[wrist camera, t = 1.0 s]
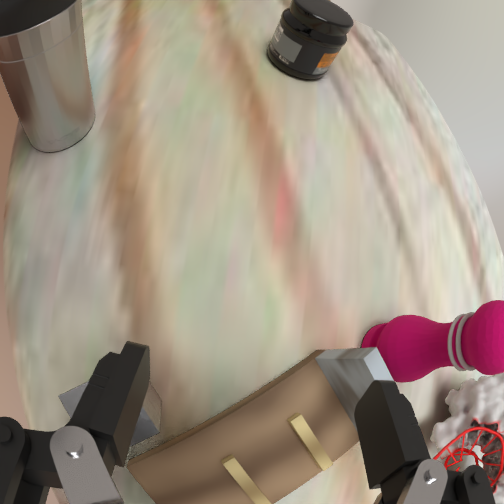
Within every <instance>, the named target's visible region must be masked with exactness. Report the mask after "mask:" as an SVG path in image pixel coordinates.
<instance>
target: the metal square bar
mask: <svg viewBox="0 0 504 504" xmlns="http://www.w3.org/2000/svg"><path fill="white" fill-rule="evenodd" d="M88 382H89V381H88ZM88 382H86V383H84V384H82V385H80V386H78V387H76V388H74V389H72V390H69V391H67V392H65V393H63V394H61V395H59V398H60V400H61V402H62V404H63V406H64V407H65V409H66V411H67V413H68V414H69V416H70V418H71V417H72V415H73V413H74V411H75V409H76V407H77V405H78V402H79V400H80V398H81V396H82V394H83V392H84V390H85V388H86V386H87V385H88ZM161 404H162V400H161V399H160V397H159V396H158V394H157V392H156V391H155V389H154V387H153V386H152V384H151V382H150V381H149V386H148V390H147V393H146V396H145V399H144V402H143V405H142V408H141V411H140V415H139V418H138V421H137V424H136V427H135V430H134V434H133V437H132V440H131V444H130V446H133V445H135V444H137V443H139V442H141V441H143V440H145V439H147V438H149V437H151V436H153V435H156V434H158V433H160V418H161Z"/></svg>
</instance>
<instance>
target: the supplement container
mask: <svg viewBox="0 0 504 504" xmlns="http://www.w3.org/2000/svg"><path fill="white" fill-rule="evenodd" d="M352 26H353V20H352V18H351V17H350V15H349V14H348V13H347V12H345V11H344V10H343V9H342V8H340V7H339V6H337V5H336V4H334V3H332V2H330V1H328V0H292V1H291V3H290V6H289V8H287V9H285V10H284V11H283V13H282V15H281V19H280V21H279V24H278V26H277V28H276V31H275V33H274V35H273V38H272V40H271V42H270V43H269V46H268V55H269V58H270V59H271V61H272V62H273V63H274V64H275V65H276V66H277V67H278V68H280V69H281V70H282V71H284V72H286V73H288V74H290V75H292V76H295V77H298V78H302V79H318V78H320V77H322V76H324V75H325V74H326V72H327V70H328V68H329V66H330V65H331V63H332V62H333V60H334V59H335V57H336V55H337V54H338V52H339V51H340V49H341V48H342V46H344V45H345V43H346V41H347V35H346V34H347V33H348V32H349V31H350V29H351V27H352Z"/></svg>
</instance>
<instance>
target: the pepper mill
mask: <svg viewBox="0 0 504 504" xmlns="http://www.w3.org/2000/svg"><path fill="white" fill-rule="evenodd" d="M370 347H377V349H378V351H379V353H380V355H381V357H382V358H383V360H384V362H385V364H386V366H387V368H388V370H389V372H390V374H391V376H392V378H393V380H394V381H396V382H412V381H415V380H418V379H420V378H422V377H424V376H426V375H427V374H429V373H430V372H432V371H433V370H435V369H437V368H440V367H446V366H454V367H455V368H456V369H457V370H459V371H466V370H469V371H472V370H475V369H477V370H478V371H479V372H481V373H482V374H485V375H496V374H500V373H503V372H504V301H502V300H496V301H491V302H488V303H486V304H483V305H482V306H481V307H480V308H479V309H478V310H477V311H476V312H475V313H474V312H470V313H467V314H461V315H459V316H457V317H456V318H455V320H454V321H453V322H451V323H437V322H435V321H432V320H429V319H427V318H424V317H421V316H416V315H403V316H398V317H396V318H394V319H393V320H391V321H390V322H389V323H384V324H379V325H376V326H374V327H372V328H371V329H370V330H369V331H368V332H367V334H366V335H365V337H364V339H363V343H362V347H361V348H370Z"/></svg>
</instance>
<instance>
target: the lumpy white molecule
mask: <svg viewBox="0 0 504 504" xmlns="http://www.w3.org/2000/svg"><path fill="white" fill-rule="evenodd" d="M445 403H446V404H447V405H449V412H450V413H451V416H452V417H449V418H448V419H446V420H445V421H444V422H438V423H436V424H435V425H434V428H433V431H432V435H431V437H430V440H431V441H432V442H435V443H436V446H437V447H438V448H437V449H438V454H437V455H436V456H435V457H434V458H433V459H435V460H436V459H437V458H438V457H439V456H440V457H441V459H444V458H445V457H447V456H448V457H447V459H446V461H445V463H444V467H445V468H446V470H447V467H449V466H451V465H453V464H456V463H458V462H460V461H462V455H473V456H474V457H475V462H476V465H478V466H479V464H478V460H479V461H481V462H482V463H483V469H484V470H485V472H486V473H487V476H488V479H489V482H490V485H491V489H492V492H493V496H494V499H495V503H496V504H504V373H500V374H496V375H494V376H490V377H487V376H481V377H480V378H479V379H478V381H475V380H474V379H473V378H471V379H469V380H466V381H465V382H463V383H462V384H461V387H460V389H459V390H458V391H457V390H455V389H452V390H450V392H449V393H448V396H447V397H446V399H445ZM467 445H468V446H467ZM470 445H472V448H471V450H469V449H466V448H468V447H469V446H470ZM474 445H479V446H481V452H482V453H485V454H484V455H483V457H482V460H481V459H479V458H478V456H477V455H476V454H475V452H474V451H472V449H473V447H474ZM458 451H461V454H454V453H456V452H458ZM463 451H464V452H466V453H468V454H462V453H463ZM453 455H461V456H460V460H459V461H456V459H455V458H454V456H453ZM451 456H452V458H453V459H454V461H455V463H452V464H450V465H447V463H448V460H449V459H450V457H451ZM459 468H460V467H459ZM459 468H458V469H457V470H456V471H458V470H459Z"/></svg>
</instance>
